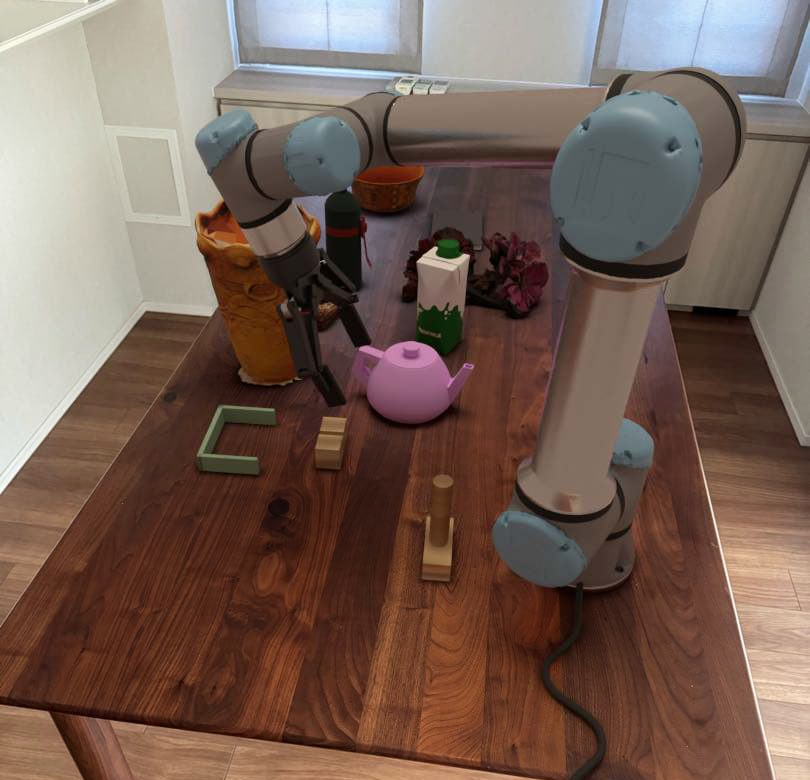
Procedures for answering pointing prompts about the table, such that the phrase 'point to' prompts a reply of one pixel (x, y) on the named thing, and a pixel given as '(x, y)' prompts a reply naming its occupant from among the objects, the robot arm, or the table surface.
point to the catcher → (222, 415)
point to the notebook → (460, 224)
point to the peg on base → (439, 532)
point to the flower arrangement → (491, 272)
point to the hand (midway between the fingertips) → (351, 373)
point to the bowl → (387, 187)
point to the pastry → (326, 315)
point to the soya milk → (441, 296)
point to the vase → (248, 296)
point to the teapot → (408, 381)
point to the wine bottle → (345, 234)
